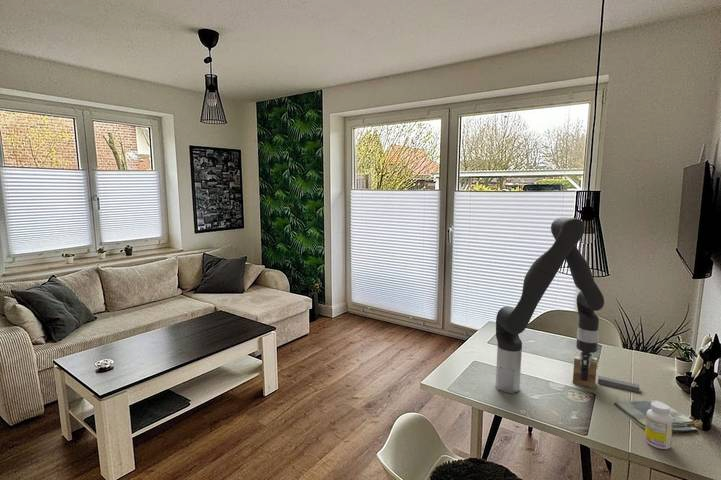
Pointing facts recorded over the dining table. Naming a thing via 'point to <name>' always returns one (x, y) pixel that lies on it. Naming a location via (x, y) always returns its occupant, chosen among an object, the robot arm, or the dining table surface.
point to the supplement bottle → (659, 426)
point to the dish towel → (640, 408)
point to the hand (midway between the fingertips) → (584, 377)
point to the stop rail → (618, 384)
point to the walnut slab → (592, 369)
